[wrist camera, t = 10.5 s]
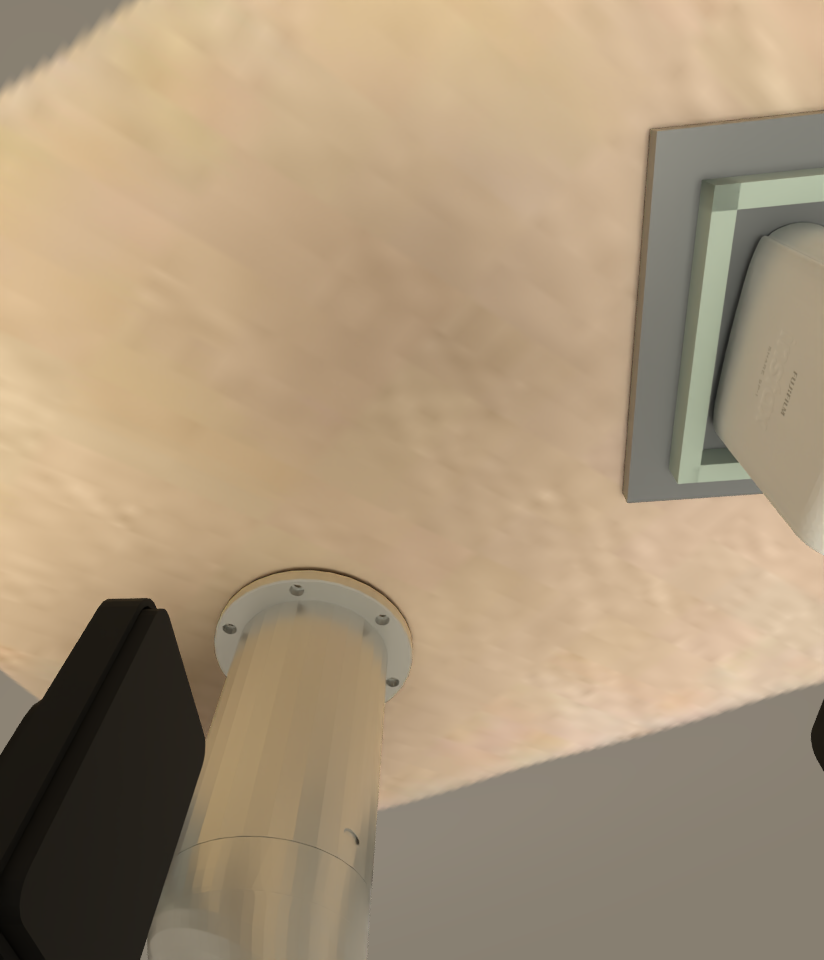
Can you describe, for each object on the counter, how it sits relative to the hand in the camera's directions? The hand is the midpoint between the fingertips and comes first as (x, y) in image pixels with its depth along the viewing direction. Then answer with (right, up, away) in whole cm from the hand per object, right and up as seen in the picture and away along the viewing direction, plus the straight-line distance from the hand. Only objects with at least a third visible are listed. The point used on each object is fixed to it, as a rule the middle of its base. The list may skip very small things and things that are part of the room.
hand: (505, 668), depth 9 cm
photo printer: (+15, +10, +22) cm, 29 cm away
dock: (+15, +10, +23) cm, 29 cm away
